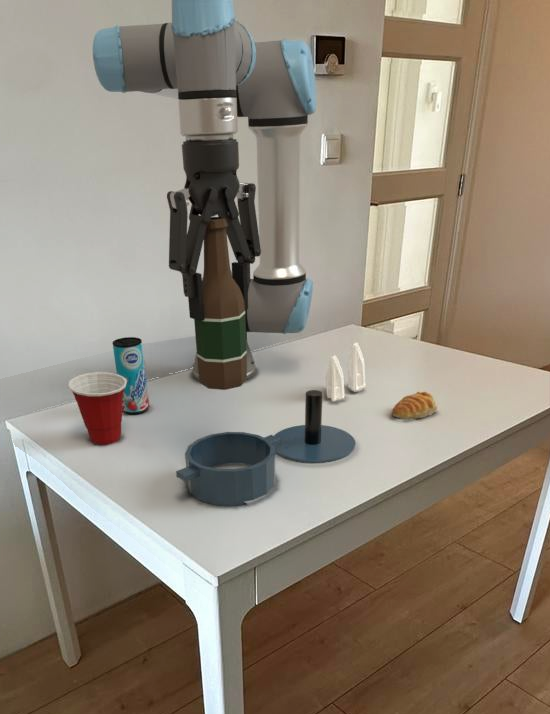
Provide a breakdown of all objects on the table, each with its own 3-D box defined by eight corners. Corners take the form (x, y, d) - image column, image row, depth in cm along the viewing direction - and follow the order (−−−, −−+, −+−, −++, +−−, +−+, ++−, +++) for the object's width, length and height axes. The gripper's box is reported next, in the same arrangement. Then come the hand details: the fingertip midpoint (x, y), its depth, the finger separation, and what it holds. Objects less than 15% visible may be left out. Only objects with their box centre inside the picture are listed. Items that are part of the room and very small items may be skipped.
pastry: (409, 425, 124) (411, 407, 122) (383, 416, 129) (384, 398, 127) (438, 412, 129) (441, 394, 127) (412, 404, 134) (414, 386, 132)
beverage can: (125, 417, 133) (115, 347, 125) (119, 407, 138) (109, 339, 130) (152, 412, 135) (144, 343, 127) (145, 403, 140) (137, 335, 132)
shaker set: (357, 385, 144) (360, 337, 138) (371, 390, 141) (375, 341, 136) (320, 398, 138) (321, 349, 132) (334, 404, 135) (336, 353, 129)
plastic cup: (108, 455, 118) (99, 394, 111) (67, 444, 123) (55, 385, 116) (145, 434, 125) (138, 376, 119) (105, 424, 130) (96, 367, 124)
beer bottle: (198, 375, 104) (185, 216, 91) (245, 371, 105) (239, 213, 92) (200, 392, 98) (187, 223, 85) (250, 388, 98) (244, 220, 85)
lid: (253, 446, 119) (252, 392, 113) (313, 423, 127) (314, 372, 122) (311, 474, 108) (313, 417, 103) (372, 447, 116) (377, 393, 111)
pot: (158, 487, 106) (154, 454, 103) (249, 452, 117) (248, 420, 114) (209, 522, 97) (207, 486, 93) (304, 480, 107) (305, 446, 104)
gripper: (159, 142, 75) (177, 332, 87) (286, 133, 86) (286, 304, 98) (127, 142, 80) (148, 322, 93) (250, 134, 91) (255, 296, 103)
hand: (219, 313), depth 95 cm, fingers closed on beer bottle, 8 cm apart
